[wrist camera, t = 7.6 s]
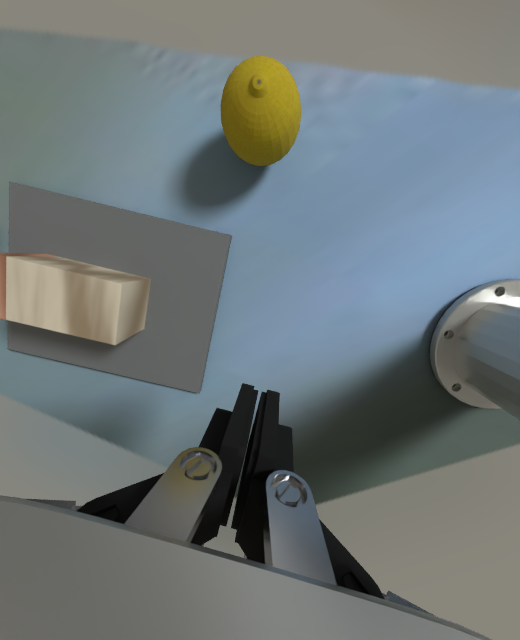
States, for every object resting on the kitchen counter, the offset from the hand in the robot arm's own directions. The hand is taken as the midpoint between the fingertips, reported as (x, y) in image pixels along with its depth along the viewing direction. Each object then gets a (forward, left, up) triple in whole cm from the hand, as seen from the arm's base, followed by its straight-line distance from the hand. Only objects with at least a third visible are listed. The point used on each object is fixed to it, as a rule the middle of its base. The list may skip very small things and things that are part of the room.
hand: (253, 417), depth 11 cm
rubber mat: (+15, 0, -15) cm, 21 cm away
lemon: (+4, -16, -15) cm, 22 cm away
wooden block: (+11, 0, -12) cm, 16 cm away
